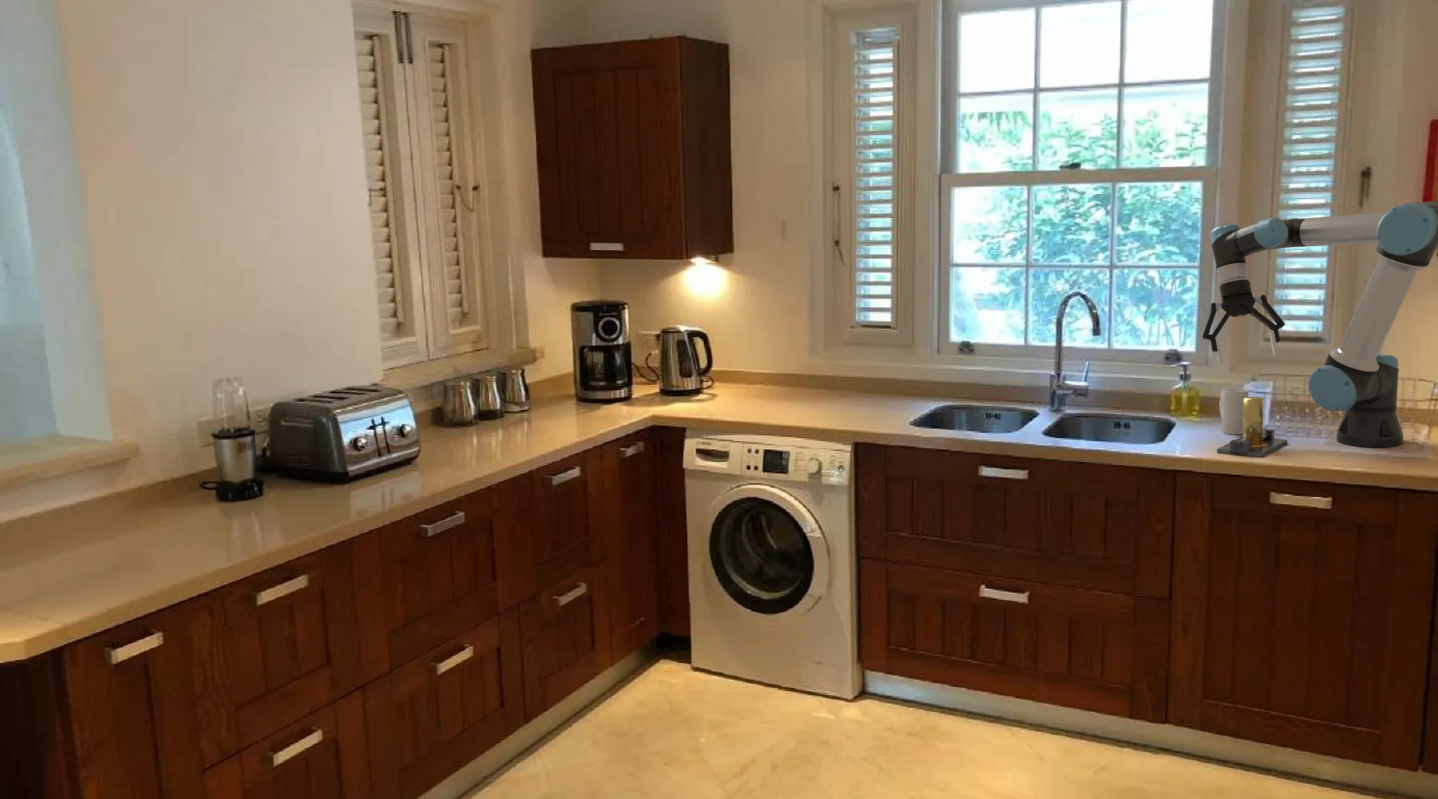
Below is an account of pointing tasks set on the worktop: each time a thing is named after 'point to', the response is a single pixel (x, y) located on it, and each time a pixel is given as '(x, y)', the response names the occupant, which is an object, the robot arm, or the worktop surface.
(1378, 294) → the robot arm
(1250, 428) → the sleeve
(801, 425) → the worktop surface
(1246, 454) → the shaft bench
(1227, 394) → the mug
